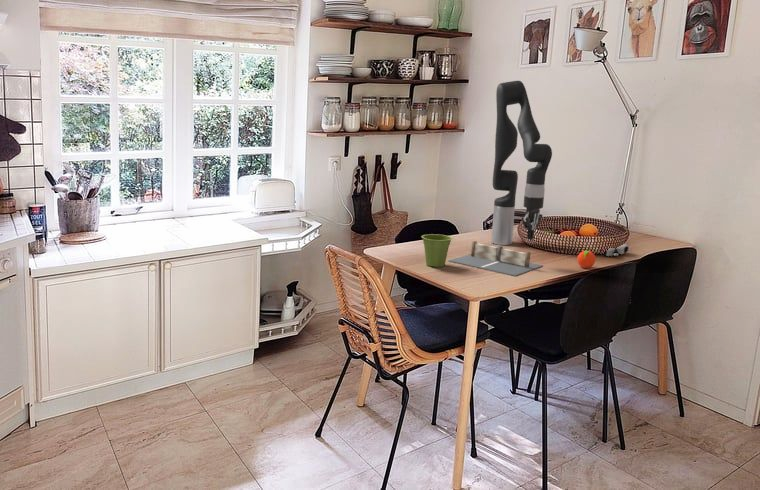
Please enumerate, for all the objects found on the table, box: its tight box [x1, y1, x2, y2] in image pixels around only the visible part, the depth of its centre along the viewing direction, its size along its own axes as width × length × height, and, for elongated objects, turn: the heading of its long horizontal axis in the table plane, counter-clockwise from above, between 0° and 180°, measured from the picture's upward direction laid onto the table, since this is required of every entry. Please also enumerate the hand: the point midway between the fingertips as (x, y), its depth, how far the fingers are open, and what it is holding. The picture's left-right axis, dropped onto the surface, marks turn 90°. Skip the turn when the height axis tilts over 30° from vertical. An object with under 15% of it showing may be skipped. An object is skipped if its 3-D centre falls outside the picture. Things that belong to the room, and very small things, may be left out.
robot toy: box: [603, 243, 633, 257], centre depth 290 cm, size 12×4×15 cm
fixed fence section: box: [470, 240, 498, 261], centre depth 272 cm, size 12×2×6 cm, turn 50°
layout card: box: [448, 253, 543, 277], centre depth 266 cm, size 22×30×1 cm
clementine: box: [576, 249, 597, 269], centre depth 264 cm, size 8×7×7 cm
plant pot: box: [421, 233, 453, 268], centre depth 259 cm, size 12×12×11 cm
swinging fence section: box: [497, 245, 531, 267], centre depth 264 cm, size 14×2×6 cm, turn 50°
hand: (530, 238), depth 264 cm, fingers closed
